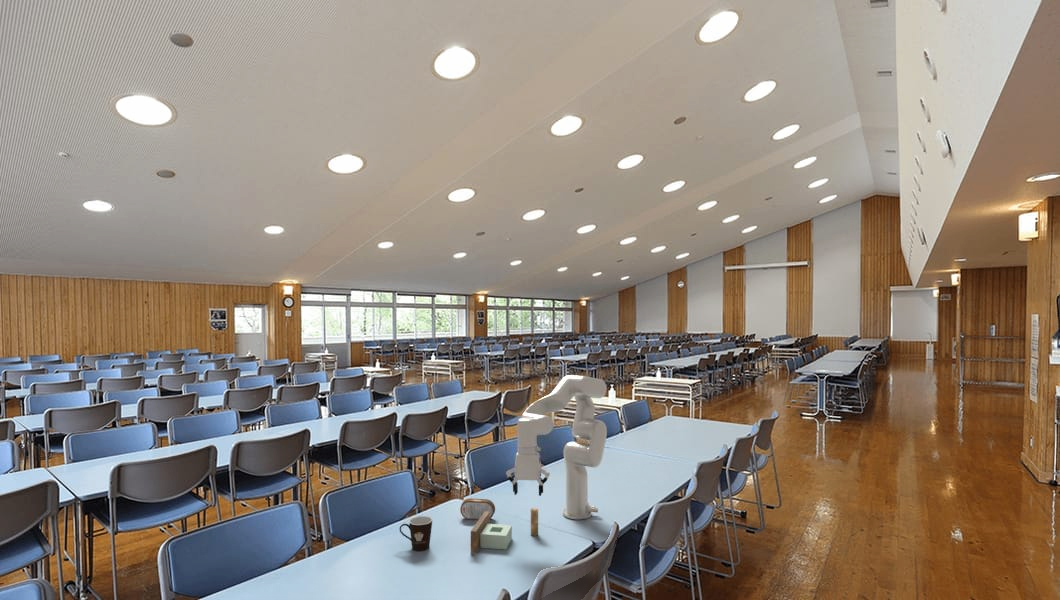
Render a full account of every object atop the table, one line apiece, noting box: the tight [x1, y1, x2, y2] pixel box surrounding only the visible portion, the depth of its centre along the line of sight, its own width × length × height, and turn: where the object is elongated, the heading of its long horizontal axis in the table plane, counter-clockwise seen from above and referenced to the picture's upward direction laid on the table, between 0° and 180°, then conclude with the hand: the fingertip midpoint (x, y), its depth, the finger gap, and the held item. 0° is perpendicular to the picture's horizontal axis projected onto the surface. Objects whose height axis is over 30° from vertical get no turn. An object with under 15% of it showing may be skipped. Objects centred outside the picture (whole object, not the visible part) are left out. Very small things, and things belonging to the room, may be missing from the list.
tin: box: [459, 498, 496, 521], centre depth 219 cm, size 15×3×8 cm, turn 84°
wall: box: [470, 511, 491, 555], centre depth 196 cm, size 2×20×8 cm, turn 170°
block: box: [479, 523, 513, 550], centre depth 195 cm, size 10×10×5 cm
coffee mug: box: [399, 515, 433, 552], centre depth 192 cm, size 12×9×10 cm
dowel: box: [530, 507, 539, 537], centre depth 203 cm, size 3×3×10 cm
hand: (528, 494), depth 198 cm, fingers open, 9 cm apart
